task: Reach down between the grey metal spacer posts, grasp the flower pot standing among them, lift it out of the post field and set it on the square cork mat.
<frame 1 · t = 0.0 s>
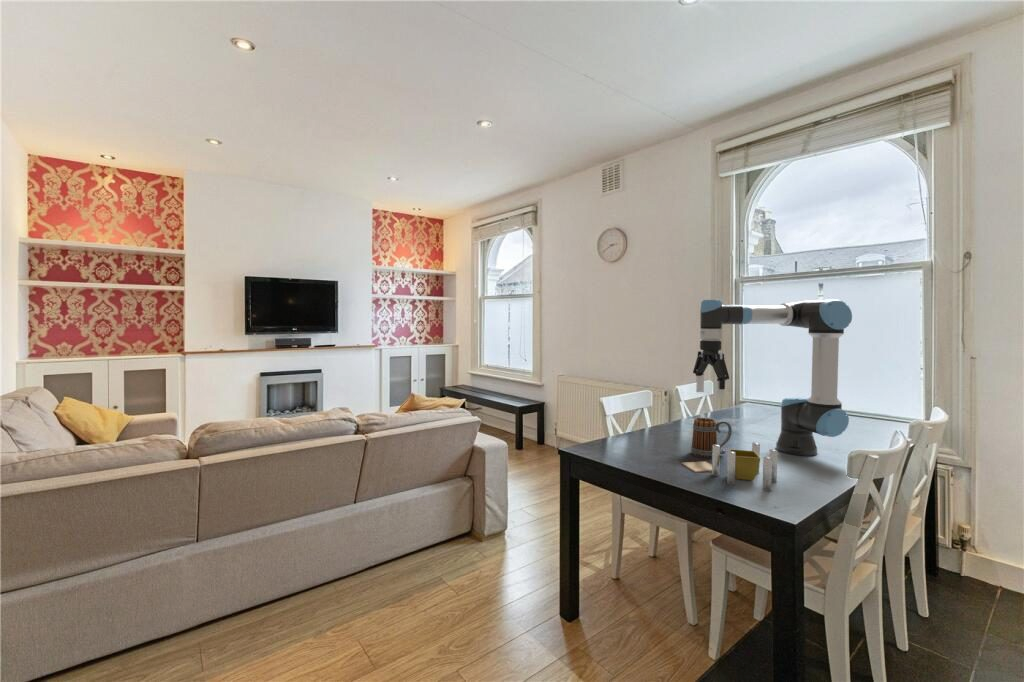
hand: (709, 394, 175), 28 cm above the table, fingers open, 13 cm apart
flower pot: (743, 478, 164), on the table
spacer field: (743, 477, 164), on the table
mug: (710, 455, 191), on the table
cork mat: (700, 467, 175), on the table
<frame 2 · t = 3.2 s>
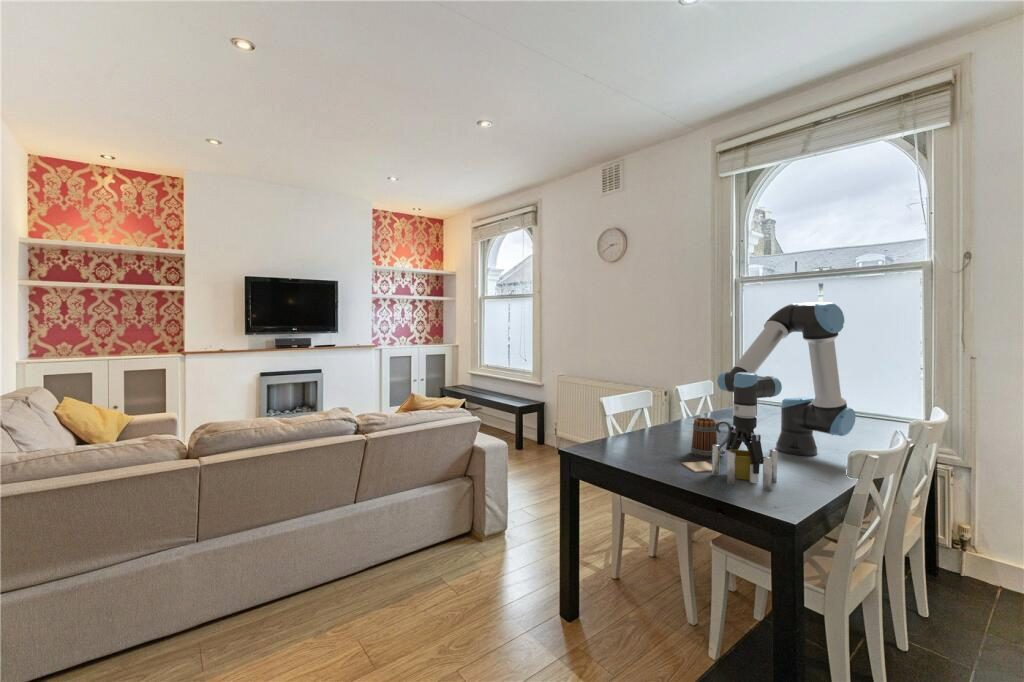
hand: (743, 476, 164), 0 cm above the table, fingers closed on flower pot, 10 cm apart
flower pot: (743, 478, 164), on the table, touching gripper
everything else where it was.
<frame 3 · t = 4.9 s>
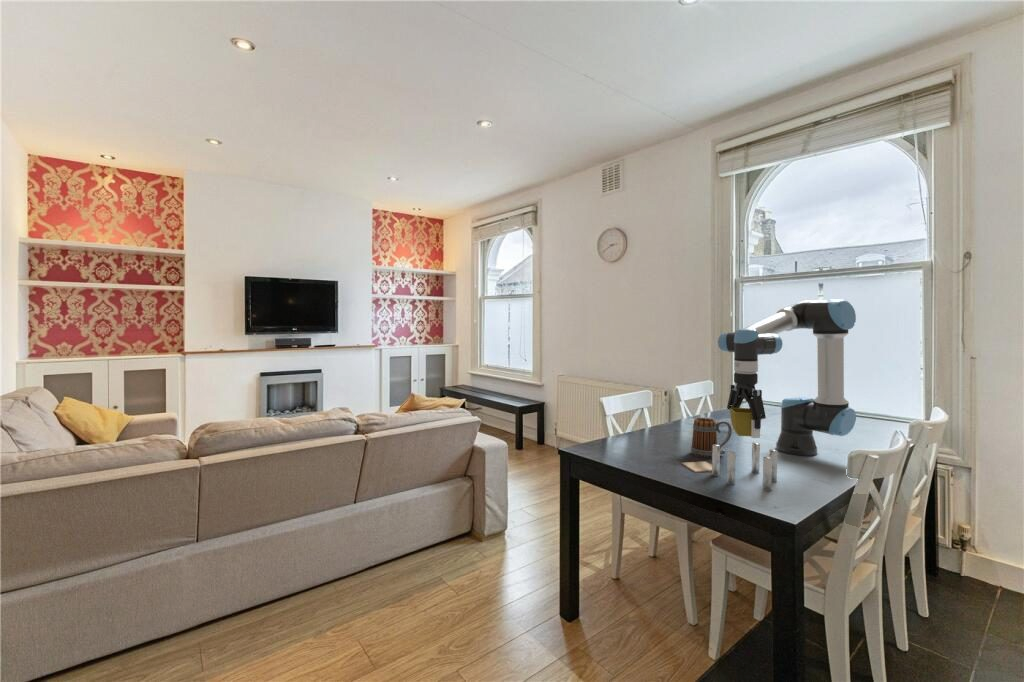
hand: (745, 433, 163), 16 cm above the table, fingers closed on flower pot, 10 cm apart
flower pot: (745, 435, 163), point 15 cm above the table, touching gripper
everything else where it was.
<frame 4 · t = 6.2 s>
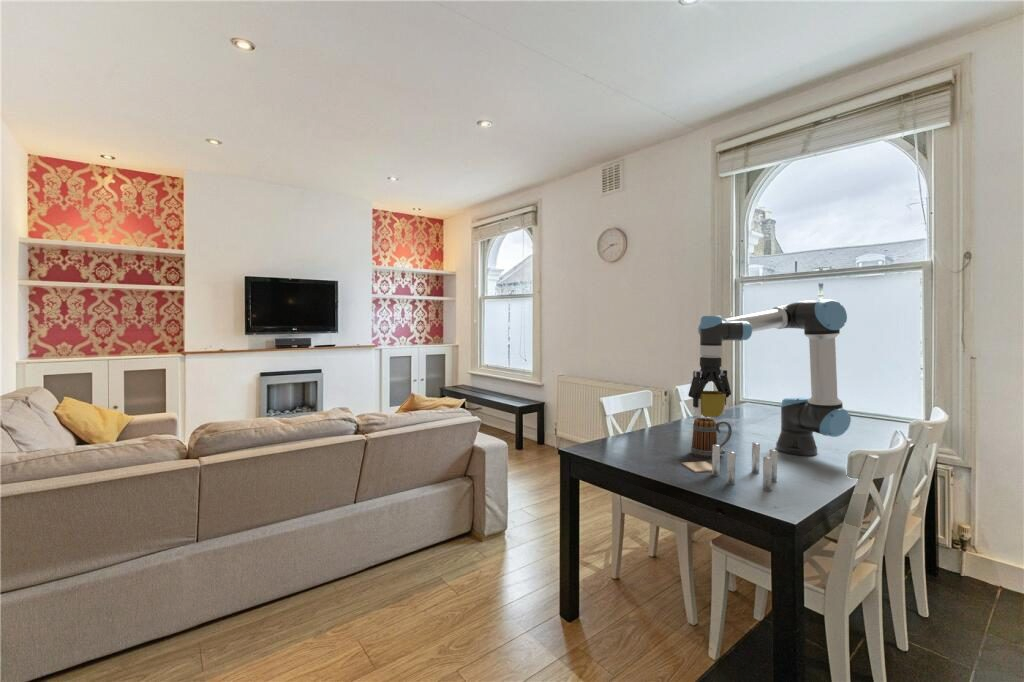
hand: (709, 414, 172), 21 cm above the table, fingers closed on flower pot, 10 cm apart
flower pot: (709, 416, 172), point 20 cm above the table, touching gripper
everything else where it was.
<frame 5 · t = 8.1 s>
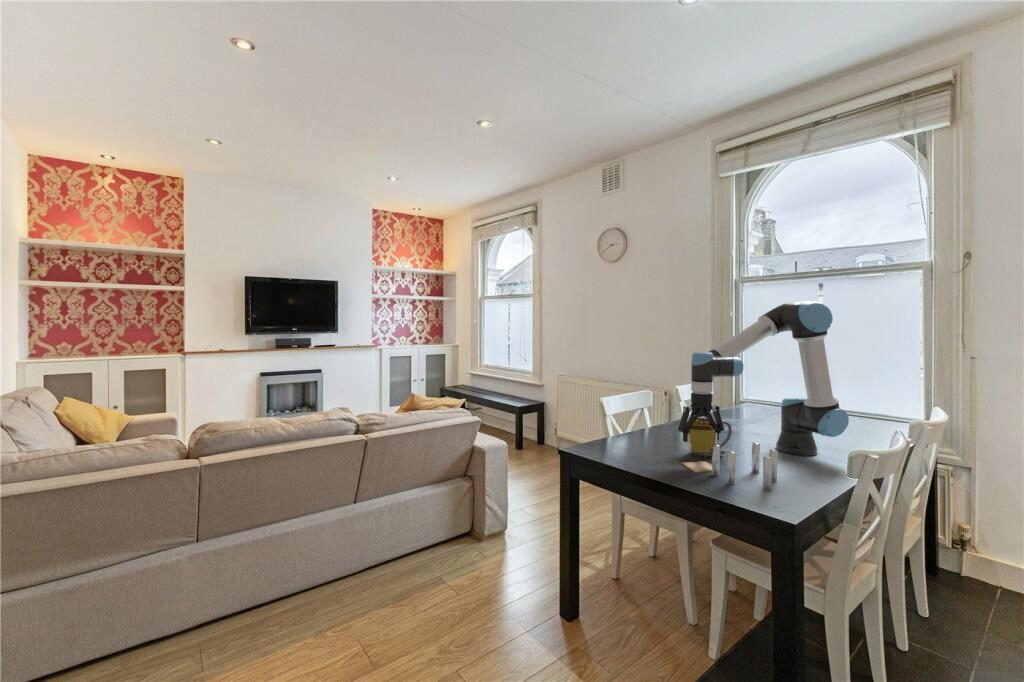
hand: (700, 449, 175), 7 cm above the table, fingers closed on flower pot, 10 cm apart
flower pot: (700, 451, 175), point 6 cm above the table, touching gripper
everything else where it was.
when the fingers open (2 cm above the table, at t = 9.6 s): flower pot drops 1 cm, resting on cork mat.
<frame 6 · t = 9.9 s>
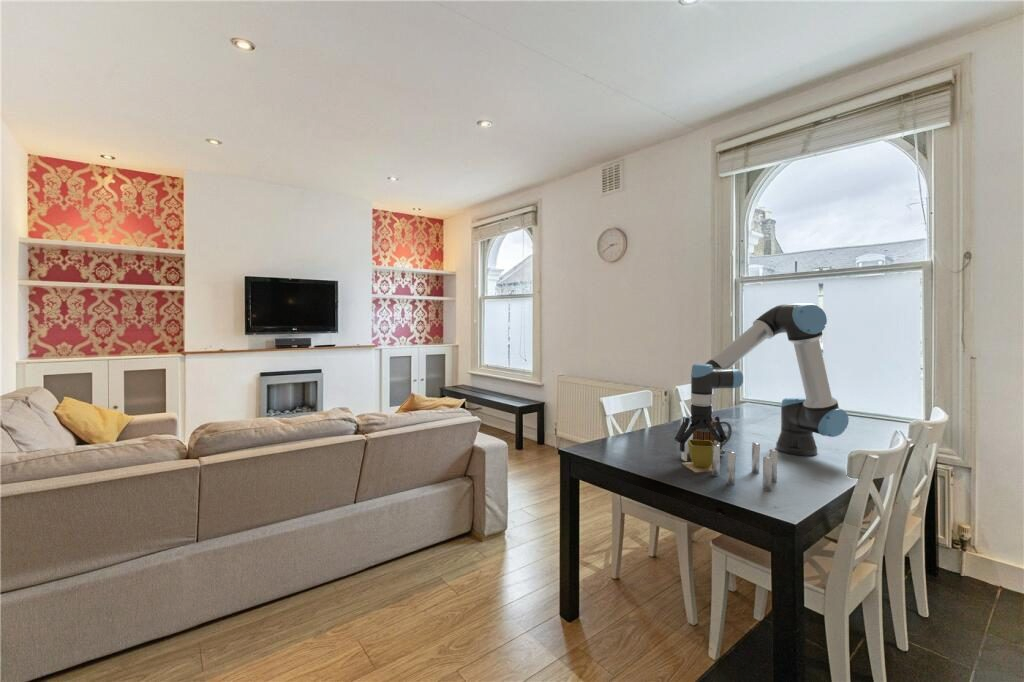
hand: (700, 459, 175), 3 cm above the table, fingers open, 13 cm apart
flower pot: (701, 466, 176), resting on cork mat
everything else where it was.
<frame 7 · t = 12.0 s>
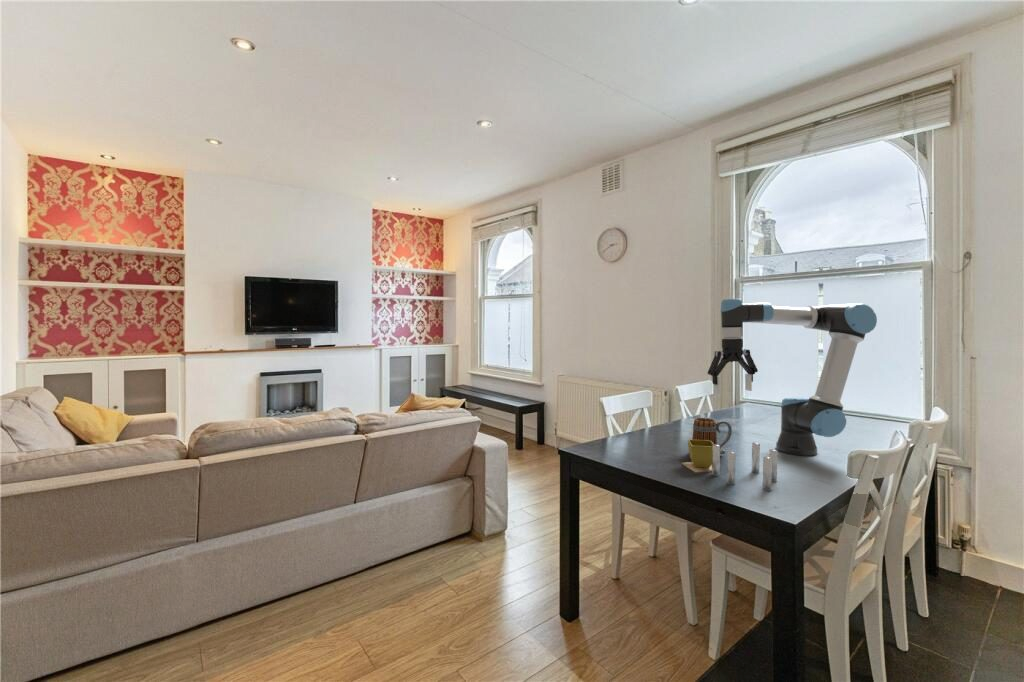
hand: (733, 391, 180), 28 cm above the table, fingers open, 13 cm apart
nothing on the table moved.
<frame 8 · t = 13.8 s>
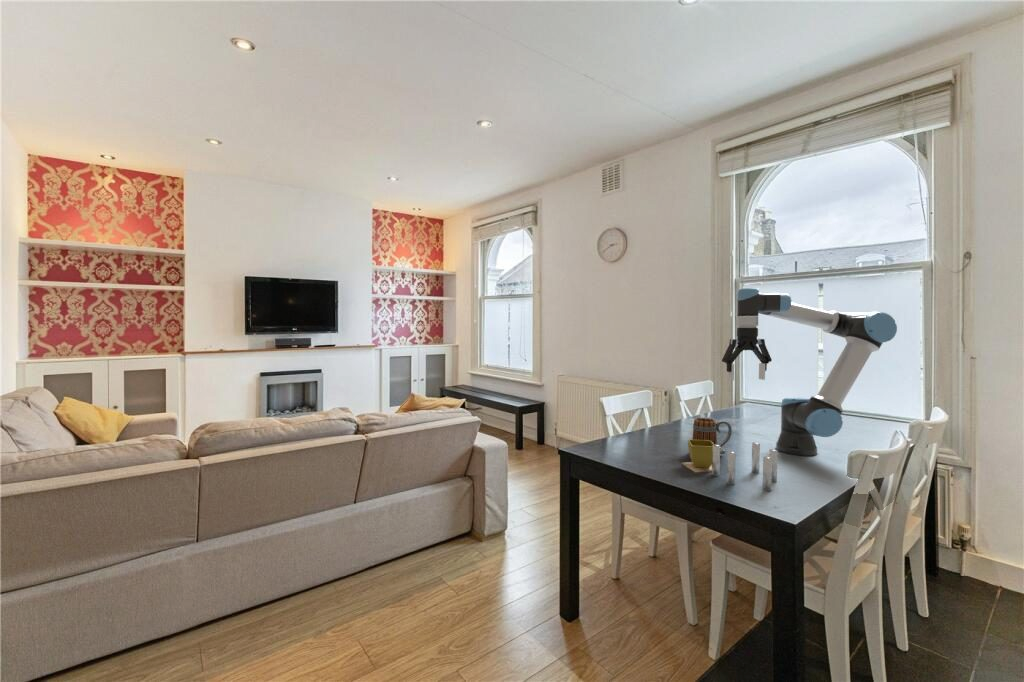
hand: (746, 379, 183), 33 cm above the table, fingers open, 13 cm apart
nothing on the table moved.
at the end: flower pot 0.4 cm from the cork mat (horizontally); flower pot tilted 0°; the gripper is holding nothing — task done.
